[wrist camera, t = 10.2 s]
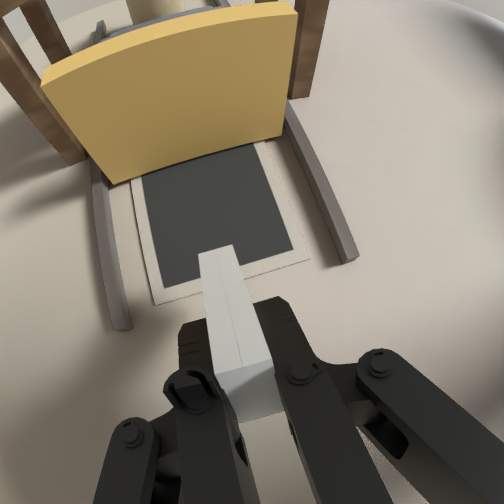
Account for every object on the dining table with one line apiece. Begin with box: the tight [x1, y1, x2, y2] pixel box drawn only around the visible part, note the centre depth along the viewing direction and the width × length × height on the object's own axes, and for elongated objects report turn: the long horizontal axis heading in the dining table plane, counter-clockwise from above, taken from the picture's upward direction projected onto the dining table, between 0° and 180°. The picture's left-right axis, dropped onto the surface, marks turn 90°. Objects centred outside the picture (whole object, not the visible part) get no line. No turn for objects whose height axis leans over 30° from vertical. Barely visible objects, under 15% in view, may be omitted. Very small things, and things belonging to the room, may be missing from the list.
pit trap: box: [131, 140, 310, 305], centre depth 19 cm, size 10×12×1 cm
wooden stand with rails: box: [0, 0, 360, 331], centre depth 15 cm, size 20×34×15 cm, turn 17°
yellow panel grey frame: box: [40, 1, 298, 185], centre depth 17 cm, size 12×16×10 cm
